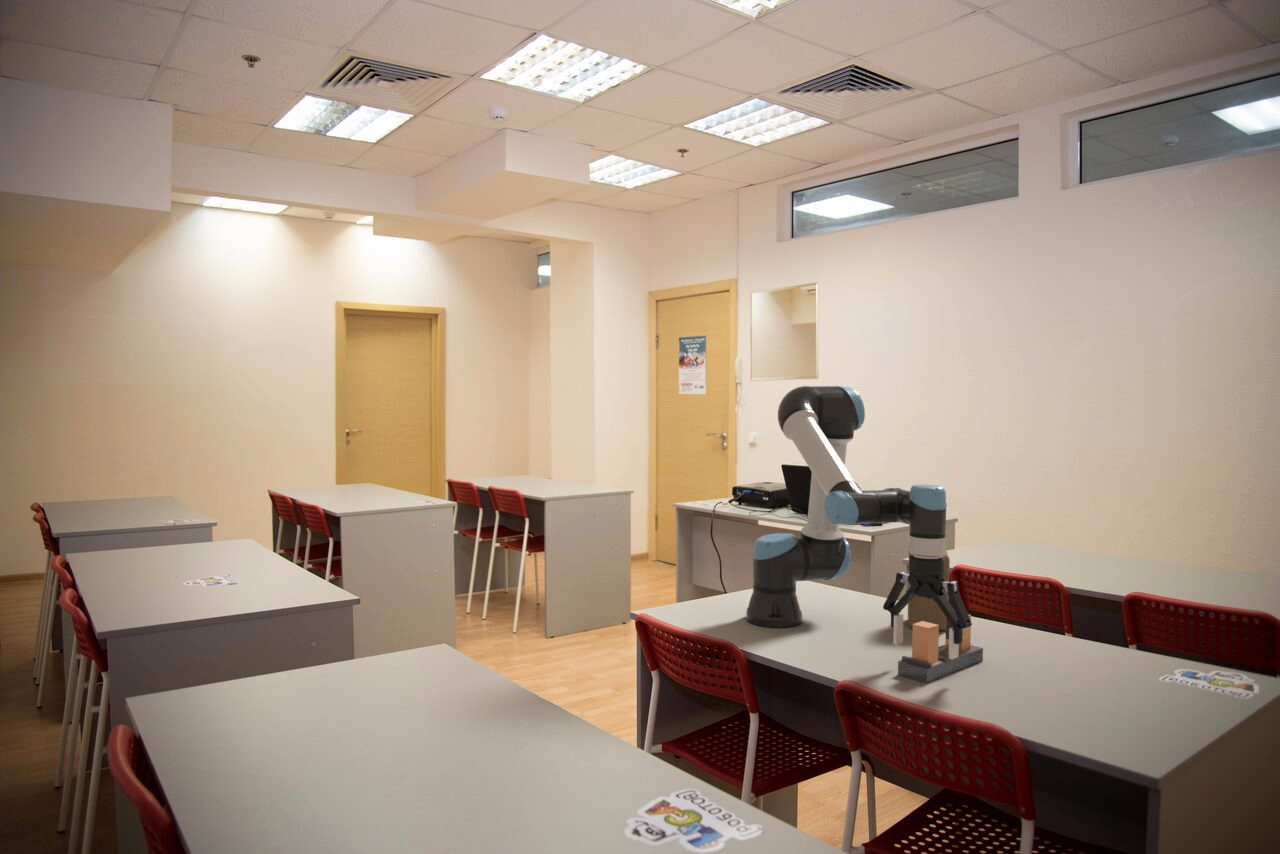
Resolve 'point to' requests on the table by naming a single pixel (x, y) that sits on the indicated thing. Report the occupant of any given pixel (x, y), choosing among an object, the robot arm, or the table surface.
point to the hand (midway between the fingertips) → (925, 650)
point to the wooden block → (928, 605)
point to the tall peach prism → (925, 641)
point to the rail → (942, 659)
